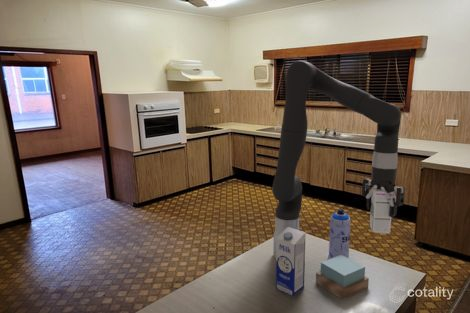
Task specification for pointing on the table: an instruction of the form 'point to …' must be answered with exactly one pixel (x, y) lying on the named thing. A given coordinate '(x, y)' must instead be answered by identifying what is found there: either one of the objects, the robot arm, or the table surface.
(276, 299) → the table surface
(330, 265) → the teal block
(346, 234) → the aerosol can
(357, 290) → the walnut slab
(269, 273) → the table surface
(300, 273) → the milk carton
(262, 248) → the table surface
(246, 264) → the table surface
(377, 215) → the syrup box
